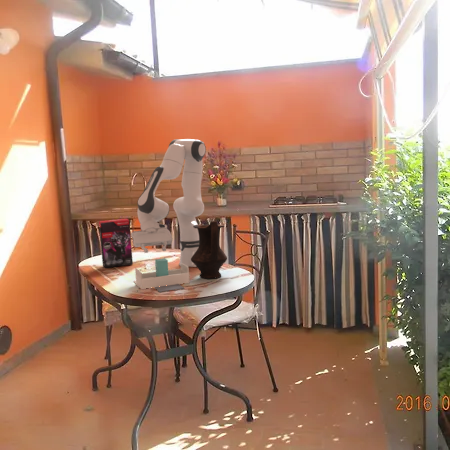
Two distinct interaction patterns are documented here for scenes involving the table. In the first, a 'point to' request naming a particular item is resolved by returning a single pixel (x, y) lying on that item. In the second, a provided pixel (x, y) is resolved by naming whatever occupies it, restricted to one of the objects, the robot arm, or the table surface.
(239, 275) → the table surface
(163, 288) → the slate mat
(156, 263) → the teal box
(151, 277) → the carton
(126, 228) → the graphics card box
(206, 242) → the jug
